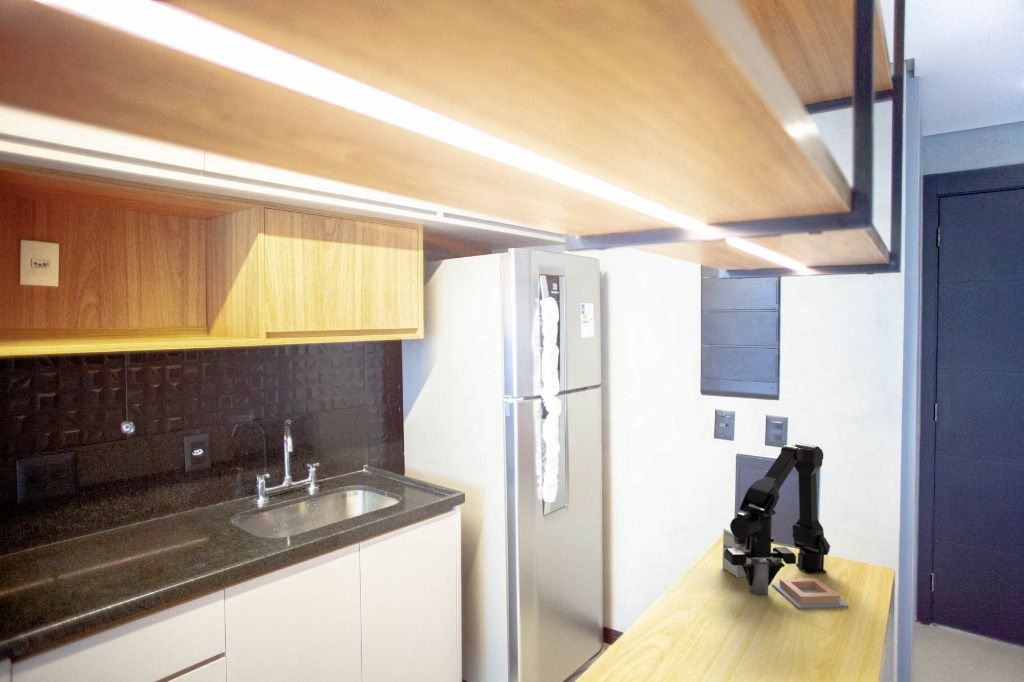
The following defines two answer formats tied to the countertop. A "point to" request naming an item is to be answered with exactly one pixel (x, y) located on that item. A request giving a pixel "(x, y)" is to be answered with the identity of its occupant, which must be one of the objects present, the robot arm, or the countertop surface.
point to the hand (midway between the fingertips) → (759, 585)
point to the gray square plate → (809, 593)
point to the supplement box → (729, 543)
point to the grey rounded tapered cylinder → (760, 577)
